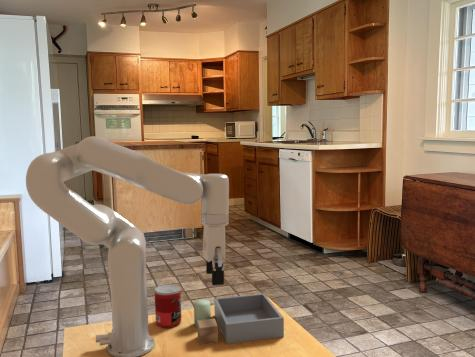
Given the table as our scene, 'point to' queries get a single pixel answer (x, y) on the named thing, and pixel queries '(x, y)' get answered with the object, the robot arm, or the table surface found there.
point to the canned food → (168, 305)
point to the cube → (207, 331)
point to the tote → (248, 318)
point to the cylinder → (201, 311)
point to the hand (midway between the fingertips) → (214, 278)
